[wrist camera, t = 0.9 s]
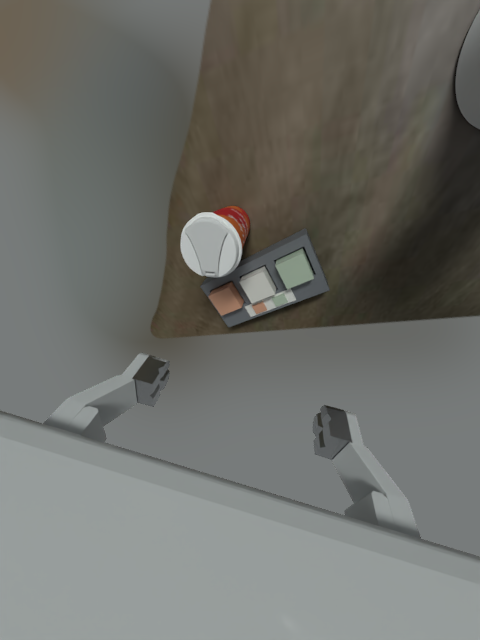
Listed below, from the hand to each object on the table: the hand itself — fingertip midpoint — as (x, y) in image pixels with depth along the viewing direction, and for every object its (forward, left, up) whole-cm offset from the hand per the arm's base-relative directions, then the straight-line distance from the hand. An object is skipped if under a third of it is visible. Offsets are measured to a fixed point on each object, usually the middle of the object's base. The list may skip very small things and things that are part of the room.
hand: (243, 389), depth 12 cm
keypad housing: (+6, +6, -32) cm, 33 cm away
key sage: (-1, +5, -29) cm, 29 cm away
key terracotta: (+12, +5, -29) cm, 32 cm away
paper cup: (+6, -5, -32) cm, 33 cm away
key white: (+6, +5, -29) cm, 30 cm away
